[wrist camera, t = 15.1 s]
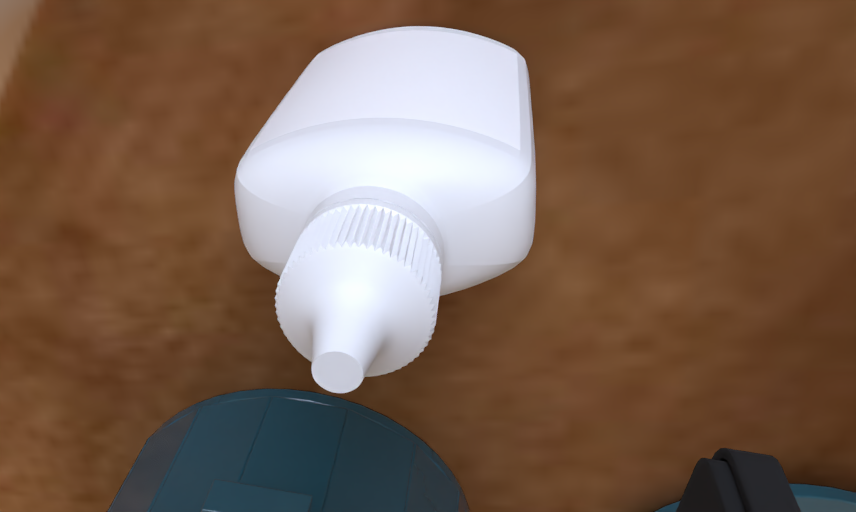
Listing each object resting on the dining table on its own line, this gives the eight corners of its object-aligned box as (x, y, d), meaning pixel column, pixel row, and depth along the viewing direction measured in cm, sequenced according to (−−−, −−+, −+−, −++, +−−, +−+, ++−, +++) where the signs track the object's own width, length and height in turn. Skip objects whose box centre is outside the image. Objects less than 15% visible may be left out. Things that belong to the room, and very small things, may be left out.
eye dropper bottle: (357, -41, 20) (190, 141, 9) (556, 67, 21) (609, 344, 10) (290, 110, 22) (93, 397, 11) (474, 202, 23) (447, 547, 12)
